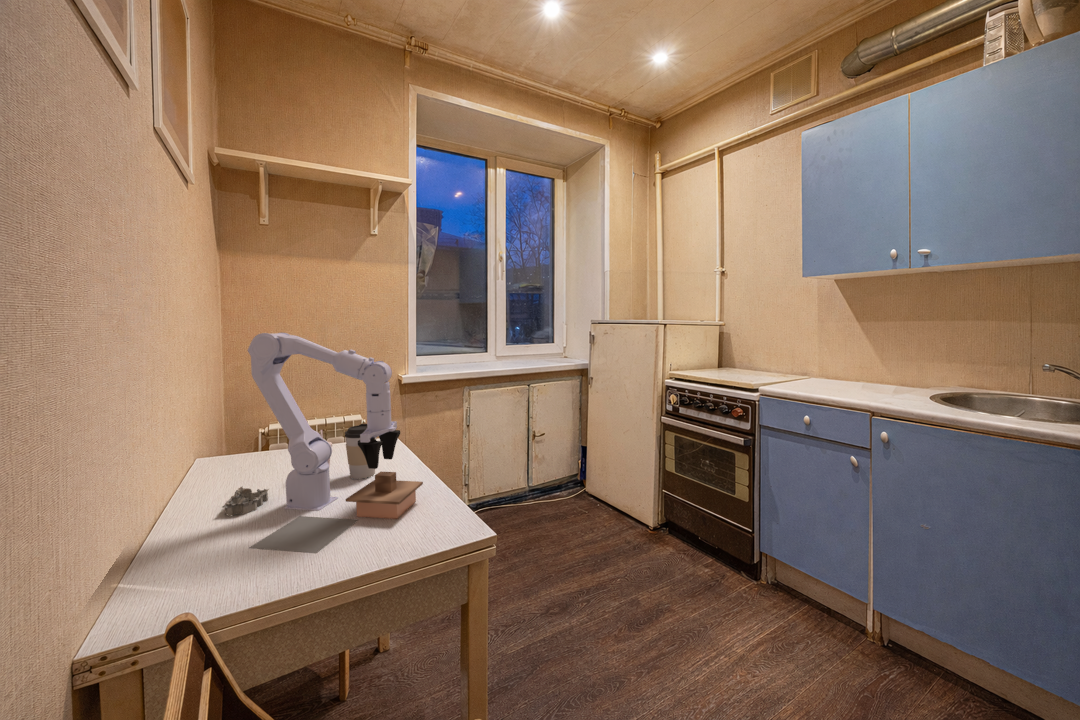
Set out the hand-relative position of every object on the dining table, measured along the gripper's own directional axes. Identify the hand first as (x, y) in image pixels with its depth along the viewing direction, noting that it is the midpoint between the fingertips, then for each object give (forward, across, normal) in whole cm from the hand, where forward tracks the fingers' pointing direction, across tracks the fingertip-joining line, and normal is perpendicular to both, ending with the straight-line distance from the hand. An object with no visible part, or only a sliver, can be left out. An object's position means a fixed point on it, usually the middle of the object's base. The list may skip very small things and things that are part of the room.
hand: (380, 463), depth 112 cm
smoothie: (+10, +16, +28) cm, 34 cm away
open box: (+10, -5, -4) cm, 12 cm away
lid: (+5, -5, -4) cm, 8 cm away
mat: (+10, -19, +7) cm, 23 cm away
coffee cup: (+10, +18, +16) cm, 26 cm away
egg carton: (+10, -7, +32) cm, 34 cm away
